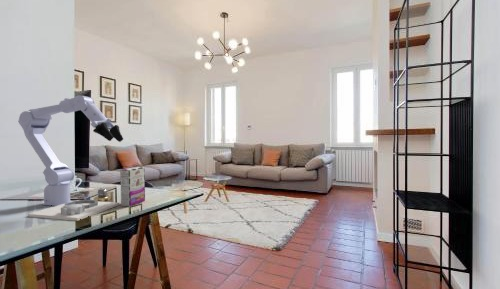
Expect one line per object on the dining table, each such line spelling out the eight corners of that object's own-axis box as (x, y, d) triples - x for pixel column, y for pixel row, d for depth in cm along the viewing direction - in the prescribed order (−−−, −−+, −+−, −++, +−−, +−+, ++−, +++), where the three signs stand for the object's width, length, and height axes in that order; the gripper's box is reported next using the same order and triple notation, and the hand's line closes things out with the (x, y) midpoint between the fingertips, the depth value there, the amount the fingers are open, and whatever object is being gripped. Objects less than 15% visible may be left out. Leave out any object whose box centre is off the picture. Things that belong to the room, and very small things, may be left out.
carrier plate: (27, 216, 96) (27, 207, 96) (77, 202, 118) (77, 194, 117) (77, 220, 92) (77, 211, 92) (119, 205, 113) (119, 197, 113)
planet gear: (90, 201, 119) (89, 190, 119) (101, 197, 126) (101, 188, 126) (103, 202, 118) (103, 191, 118) (114, 198, 125) (114, 188, 125)
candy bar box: (136, 200, 123) (136, 166, 122) (145, 200, 122) (145, 166, 121) (119, 206, 112) (119, 169, 111) (129, 206, 111) (129, 169, 110)
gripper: (92, 108, 104) (113, 132, 103) (112, 113, 119) (131, 135, 118) (79, 119, 104) (101, 143, 103) (101, 124, 119) (120, 145, 118)
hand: (116, 139), depth 111 cm, fingers open, 7 cm apart
